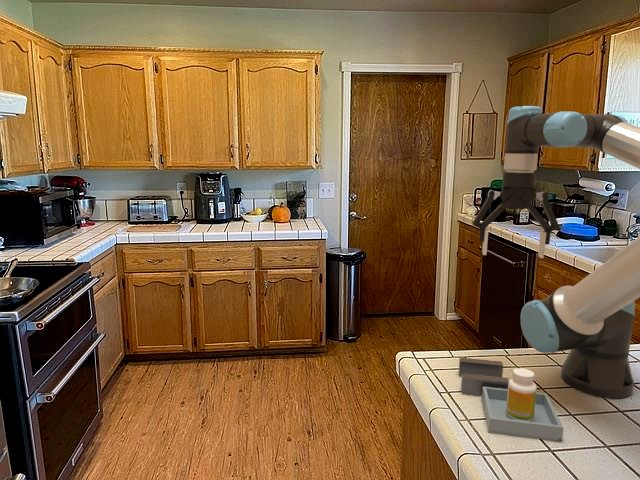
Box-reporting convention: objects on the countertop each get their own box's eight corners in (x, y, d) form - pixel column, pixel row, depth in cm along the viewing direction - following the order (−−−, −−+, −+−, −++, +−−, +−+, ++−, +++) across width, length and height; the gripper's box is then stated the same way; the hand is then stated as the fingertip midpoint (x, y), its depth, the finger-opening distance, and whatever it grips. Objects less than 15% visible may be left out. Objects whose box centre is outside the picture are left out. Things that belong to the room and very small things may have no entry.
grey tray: (545, 406, 105) (547, 393, 105) (561, 441, 92) (563, 427, 92) (481, 398, 108) (482, 386, 108) (488, 432, 95) (489, 418, 95)
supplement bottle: (536, 424, 97) (540, 379, 95) (507, 420, 98) (511, 376, 96) (530, 410, 102) (535, 368, 100) (504, 407, 103) (507, 365, 102)
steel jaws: (500, 376, 119) (501, 361, 118) (507, 399, 108) (509, 382, 107) (458, 372, 121) (459, 357, 120) (461, 394, 110) (462, 377, 109)
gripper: (569, 171, 119) (560, 255, 123) (465, 169, 124) (460, 249, 128) (579, 173, 112) (569, 261, 116) (468, 171, 117) (462, 255, 121)
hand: (512, 255), depth 122 cm, fingers open, 13 cm apart
